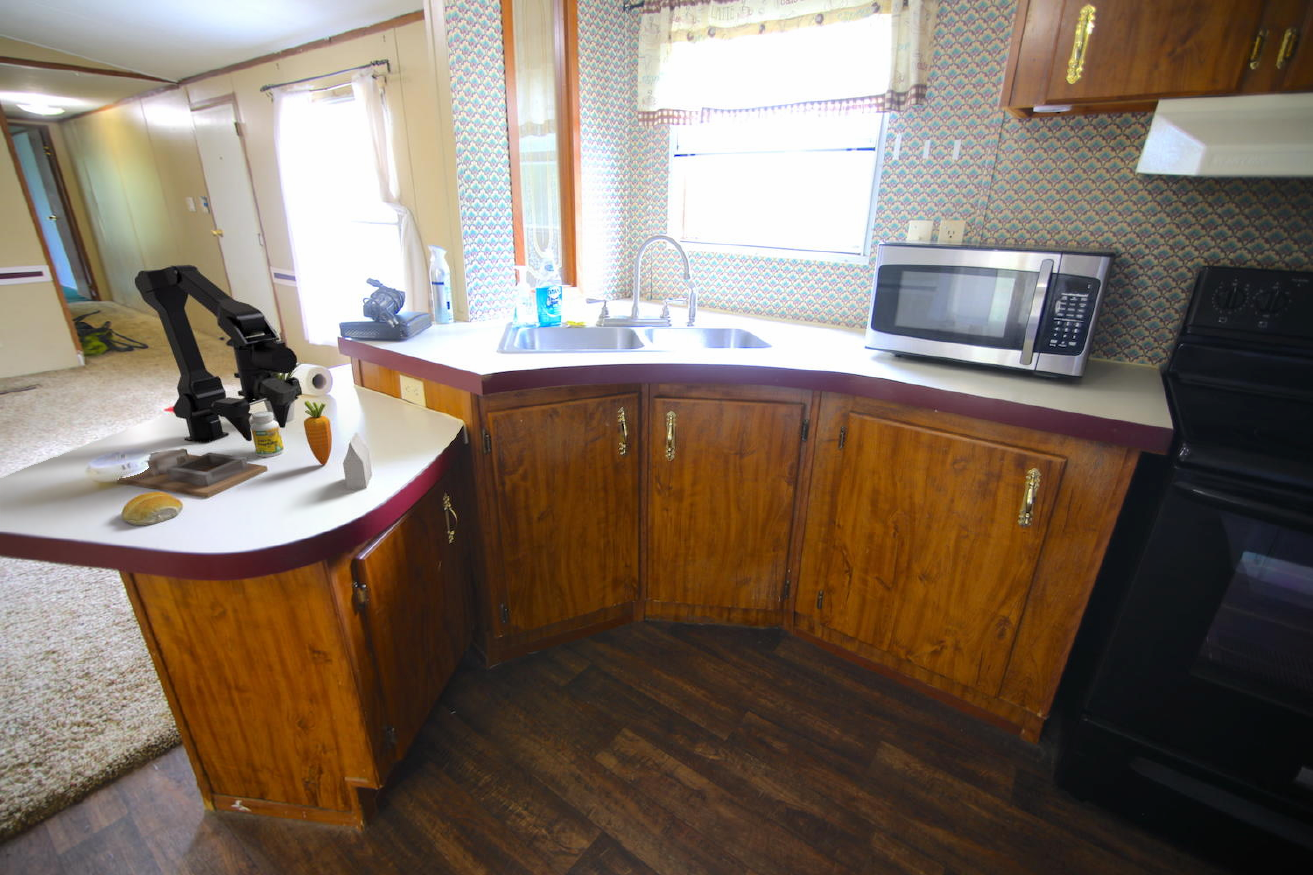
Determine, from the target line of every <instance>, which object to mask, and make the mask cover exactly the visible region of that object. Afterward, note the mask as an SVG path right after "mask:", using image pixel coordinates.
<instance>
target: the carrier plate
mask: <svg viewBox="0 0 1313 875" xmlns="http://www.w3.org/2000/svg"><path fill="white" fill-rule="evenodd" d="M146 462H147V465H148V466H149V468H148V469H147V470H145V471H144V472H142V473H140V474H137V475H134V476H130V477H126V478H119V477H118V478H119V480H117V483H118V484H125V485H129V486H136V487H143V488H147V489H148V488H149V489H154V490H159V491H165V492H173V493H176V494H177V493H179V494H184V495H190V496H197V497H201V498H208V499H209V498H210V497H213V496H215V495H217V494H219V493H221V492H224V491H226V490H229V489H230V488H232V487H234V486H237V485H239V484H241V483H244V482H245V481H247V480H250V479H252V478H255V477H257V476H258V475H260V473H261V474H263V473H265V472H267V471H268V466H267V465H262V464H255V463H248V458H247V457H242V456H237V455H229V454H223V453H217V452H216V453H215V452H206V453H204V454H201V455H198V454H197V455H196V454H189V453H188V449H187V448H180V449H169V450H167V449H166V450H163V451H154V452H152V453H150V456H148V460H147V461H146ZM148 466H147V467H148ZM264 471H265V472H264ZM262 472H263V473H262Z"/></svg>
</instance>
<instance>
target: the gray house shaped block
mask: <svg viewBox="0 0 1313 875" xmlns="http://www.w3.org/2000/svg"><path fill="white" fill-rule="evenodd" d="M342 466H343V472H344V473H343V474H344V479H345V486H346V490H361V489H363V490H364V489H368V486H369V484H370V480H371V479H372V476H373V472H372V466H371V457H370V450H369V448H368V447H367V446H366V444H365V443H364V442H363V440H362V438H361V437H360V436H359V434H358V432H354V435H352V438H351V439H350V442H349V443H348V448H347V452H346V454H345V457H344V458H343V462H342Z"/></svg>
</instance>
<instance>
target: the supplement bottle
mask: <svg viewBox="0 0 1313 875" xmlns="http://www.w3.org/2000/svg"><path fill="white" fill-rule="evenodd" d="M251 417H252V421H253V423H251V424H250V428H251V434H252V440H253V444H254V448H255V452H256V456H258V457H262V458H270V457H275V456H279V455H281V454H283V452H284V451H285V450H284V444H283V439H282V435H281V428H280V426H279V424H278V422H277V421H275V420H273V419H274V416H273V413H272V412H269V411H266V410H265V411H258V412H255V413H252V416H251ZM278 454H279V455H278Z"/></svg>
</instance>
